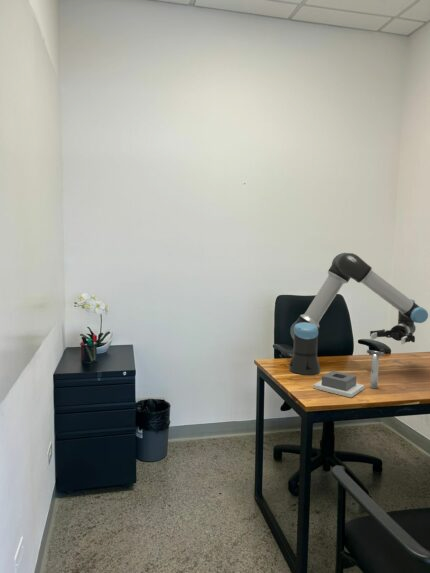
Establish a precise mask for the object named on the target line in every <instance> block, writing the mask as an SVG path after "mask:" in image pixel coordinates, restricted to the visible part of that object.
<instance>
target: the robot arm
mask: <svg viewBox="0 0 430 573" xmlns="http://www.w3.org/2000/svg"><path fill="white" fill-rule="evenodd" d="M331 262H332V263H331V265H330V267H329V269H328V270H327V277H326V279H325V280H324V282H323V284H322V285H321V287H320V289H319V290H318V292H317V293H316V295H315V296H314V298H313V300H312V301H311V303H310V304H309V306H308V308H307V310H306V311H305V312H304V313H303V314H300V315H299V317H298V318H297V320H296V321H295V322H293V323H292V325H291V326H290V331H289V332H290V336H291V338H292V339H293V352H292V353H293V354H292V357H291V360H290V363H289V367H288V370H289V371H290V372H291V373H294V374H298V375H304V376H305V375H306V376H311V375H312V376H313V375H318V374H320V372H321V365H320V363H319V359H318V358H319V357H318V339H319V338H318V337H319V329H320V324H319V323H320V322H321V319H322V318H323V316H324V314H326V312H327V311H328V308H329V307H330V306H331V304H332V302H333V301H334V299H335V298H336V297H337V295H338V293H339V291H340V290H341V288H342V287H343V285H344V284H347V283H349V281H350V279H352V280H354V281H356V283H359V284H360V283H361V284H363V285H364V286H366V287H367V288H368V289H370V290H371V292H373V293H375V294H377V296H378V297H380V298H381V299H383V300H384V301H385V302H387V303H388V304H390V305H391V306H392V307H393V308H395V309H397V311H398V314H397V315H398V316H397V317H398V318H397V324H396V325H394V326H393V327H391V328H390V329H388V330H387V329H384V328H383V329H379V330H370V331H369V336H370V340H371V341H373V340H376V339H378V338H387V339H388V338H389V339H390V338H392V339H393V340H394V341H397V342H400V341H401V342H400V345H404V344H406V343H410V342H411V343H415V340H416V336H415V335H414V333H415V332H416V329H417V326H416V325H415V323H416V324H417V323H418V324H423V323H425V322H426V321H427V319H428V318H429V313H428V310H426V309H425V308H424V307H421V306H419V305H418V304H417V303H416V301H415V300H414V299H411V298H409V297H408V296H406V295H405V294H404V293H403V292H401V291H400V290H398V289H397V288H396V287H395V286H394V285H392V284H391V283H389V282H388V281H386V279H384V278H383V277H381V276H380V275H379V274H378V273H376V272H374V270H373V268H372V267H371V265H369V264H368V263H367V262H365V260H363V259H362V258H361V257H360V256H359V255H357V254H355V253H352V252H351V253H350V252H342V253H339V254H337V255H336V256H334V258H333V260H332V261H331Z"/></svg>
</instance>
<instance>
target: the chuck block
mask: <svg viewBox="0 0 430 573" xmlns="http://www.w3.org/2000/svg"><path fill="white" fill-rule="evenodd" d="M365 386H366V385H365V384H361V383H358V382H357V375H354V374H350V373H344V372H340V371H336V370H331V371H329V372H327V373H325V374H323V375H322V376H321V380H319V381H318V382H316V383H313V384H312V388H313V389H316V390H320V391H324V392H327V393H331V394H334V395H335V394H336V395H340V396H343V397H347V398H352V397H353V398H354V396H356V395H357V394H358V393H360V392H361V391H363V390H364V389H365Z"/></svg>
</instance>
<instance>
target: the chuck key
mask: <svg viewBox="0 0 430 573" xmlns="http://www.w3.org/2000/svg"><path fill="white" fill-rule="evenodd" d="M366 353H367V354H370V355H371V362H370V382H369V383H370V384H369V386H370V388H371V389H378V384H379V382H378V381H379V365H380V364H379V363H380V356H382V357H383V356H385V355H386V354H385V352H384V351H377V350H372V349H367V350H366Z"/></svg>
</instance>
